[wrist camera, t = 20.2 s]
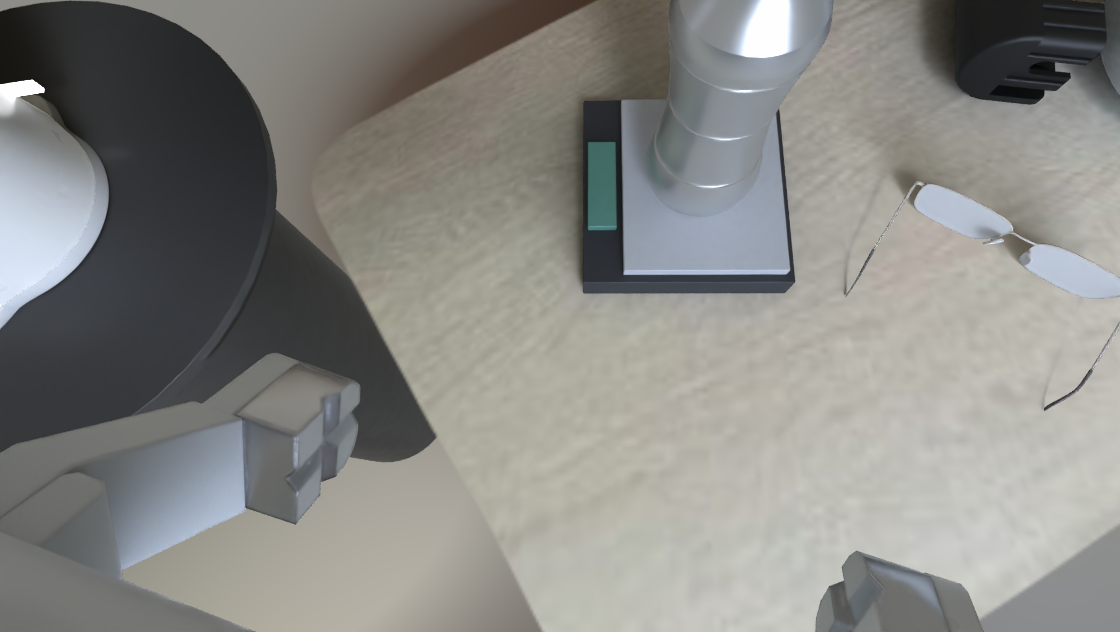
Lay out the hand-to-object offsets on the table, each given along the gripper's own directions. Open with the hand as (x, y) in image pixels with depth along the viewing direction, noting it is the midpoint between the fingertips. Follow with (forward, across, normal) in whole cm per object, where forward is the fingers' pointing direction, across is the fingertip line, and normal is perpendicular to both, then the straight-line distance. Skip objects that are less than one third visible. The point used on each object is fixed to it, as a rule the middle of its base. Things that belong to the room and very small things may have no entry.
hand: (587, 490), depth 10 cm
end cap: (+48, -18, -8) cm, 51 cm away
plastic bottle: (+33, -1, +3) cm, 33 cm away
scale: (+35, -1, +6) cm, 36 cm away
